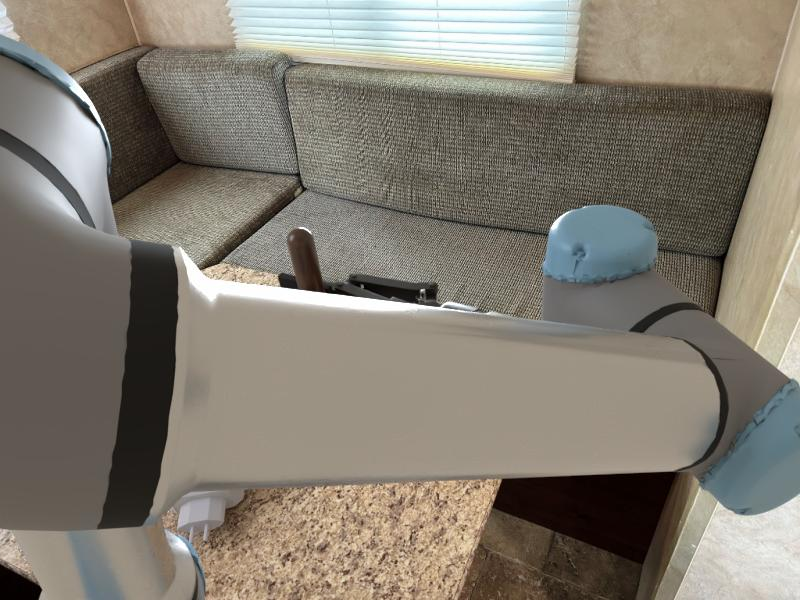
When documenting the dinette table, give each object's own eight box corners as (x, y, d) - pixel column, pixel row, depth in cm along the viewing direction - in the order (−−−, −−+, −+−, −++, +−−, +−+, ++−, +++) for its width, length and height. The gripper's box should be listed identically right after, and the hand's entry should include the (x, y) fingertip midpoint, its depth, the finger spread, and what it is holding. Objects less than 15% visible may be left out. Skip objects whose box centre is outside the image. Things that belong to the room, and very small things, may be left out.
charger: (165, 559, 73) (183, 457, 85) (242, 545, 73) (249, 446, 85) (152, 538, 70) (172, 436, 82) (231, 524, 70) (240, 424, 82)
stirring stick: (332, 406, 68) (294, 250, 55) (304, 386, 71) (260, 233, 58) (364, 380, 71) (334, 225, 57) (335, 362, 74) (300, 210, 60)
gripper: (442, 438, 53) (236, 365, 63) (504, 327, 63) (319, 279, 73) (438, 379, 48) (215, 310, 58) (505, 269, 59) (307, 226, 68)
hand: (273, 293), depth 66 cm, fingers closed on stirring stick, 3 cm apart
